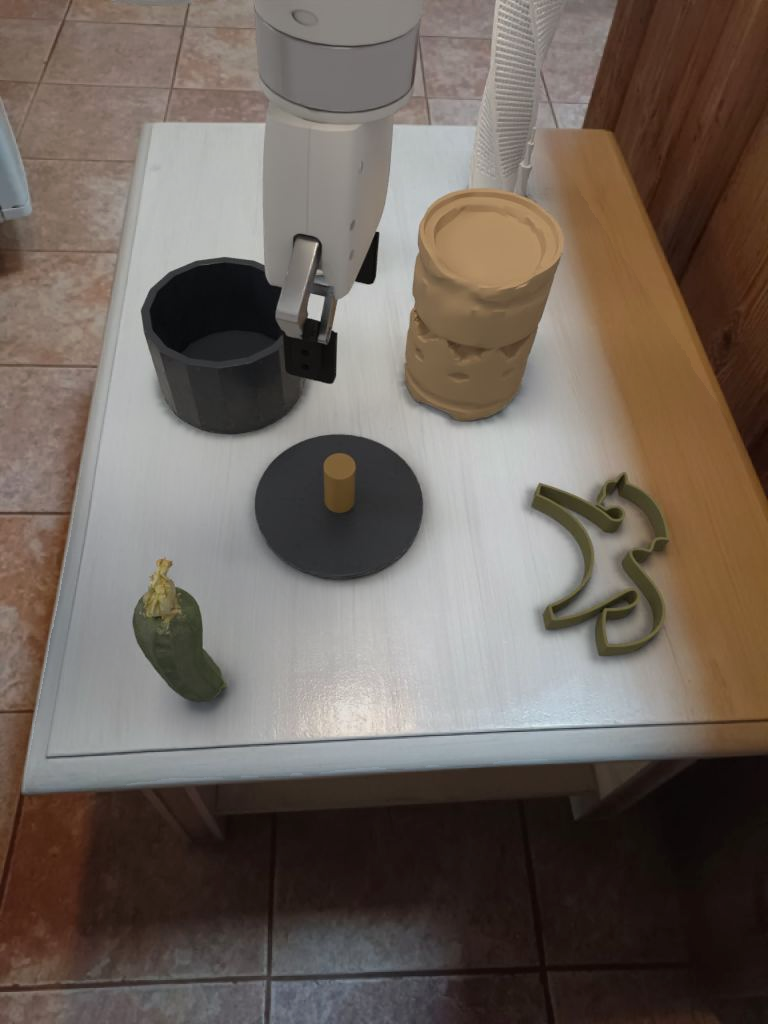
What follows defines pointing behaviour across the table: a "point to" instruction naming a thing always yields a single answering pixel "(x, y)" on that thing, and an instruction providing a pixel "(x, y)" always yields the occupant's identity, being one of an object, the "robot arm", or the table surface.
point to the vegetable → (175, 638)
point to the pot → (219, 345)
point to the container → (478, 299)
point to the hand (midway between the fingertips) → (332, 324)
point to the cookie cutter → (608, 521)
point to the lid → (338, 506)
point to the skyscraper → (512, 93)
